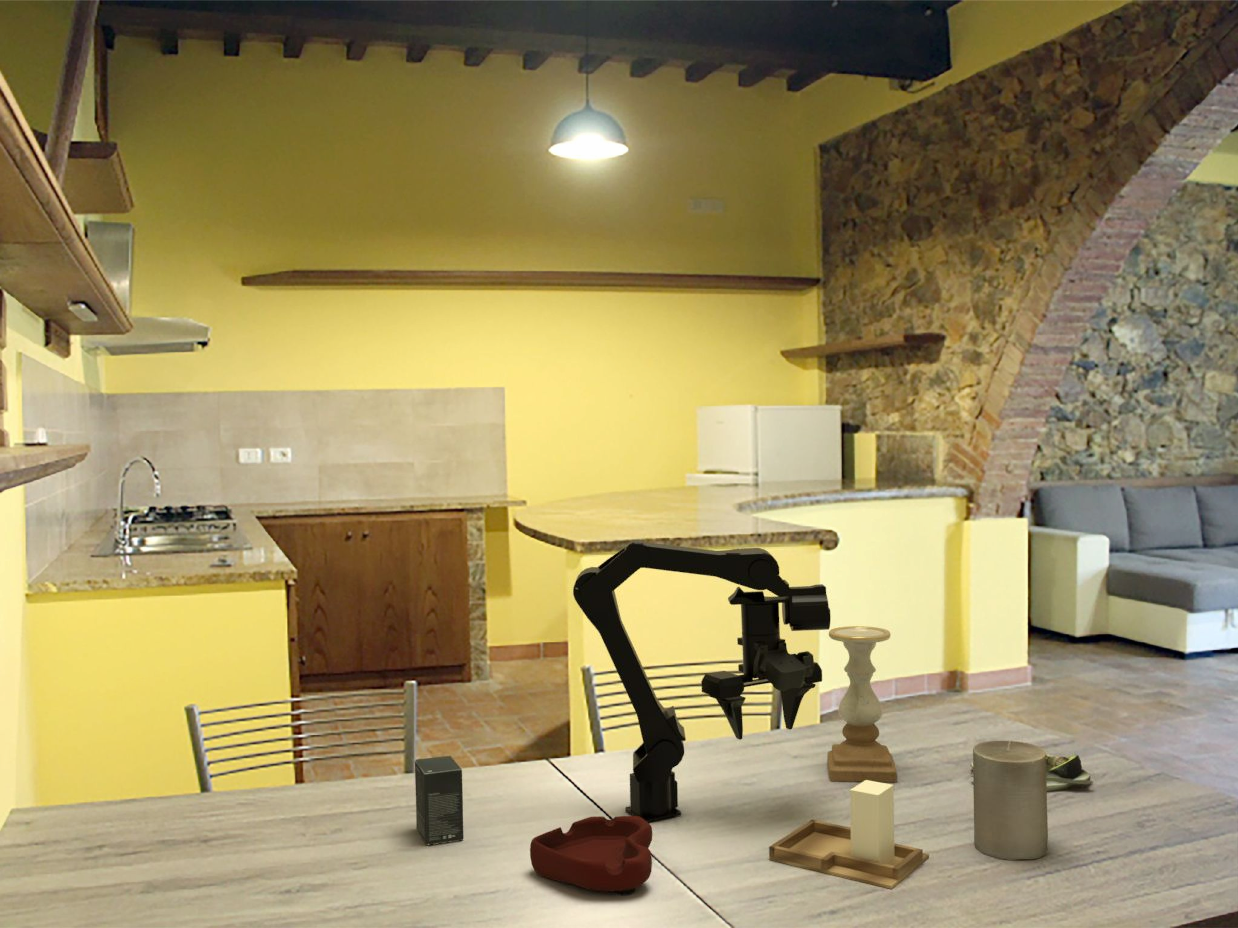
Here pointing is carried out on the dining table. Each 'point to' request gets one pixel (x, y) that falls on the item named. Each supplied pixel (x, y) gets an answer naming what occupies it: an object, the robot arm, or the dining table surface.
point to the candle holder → (860, 714)
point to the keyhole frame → (842, 855)
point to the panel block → (872, 821)
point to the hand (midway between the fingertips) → (764, 733)
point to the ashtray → (596, 854)
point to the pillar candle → (1010, 800)
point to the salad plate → (1063, 773)
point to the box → (439, 800)
